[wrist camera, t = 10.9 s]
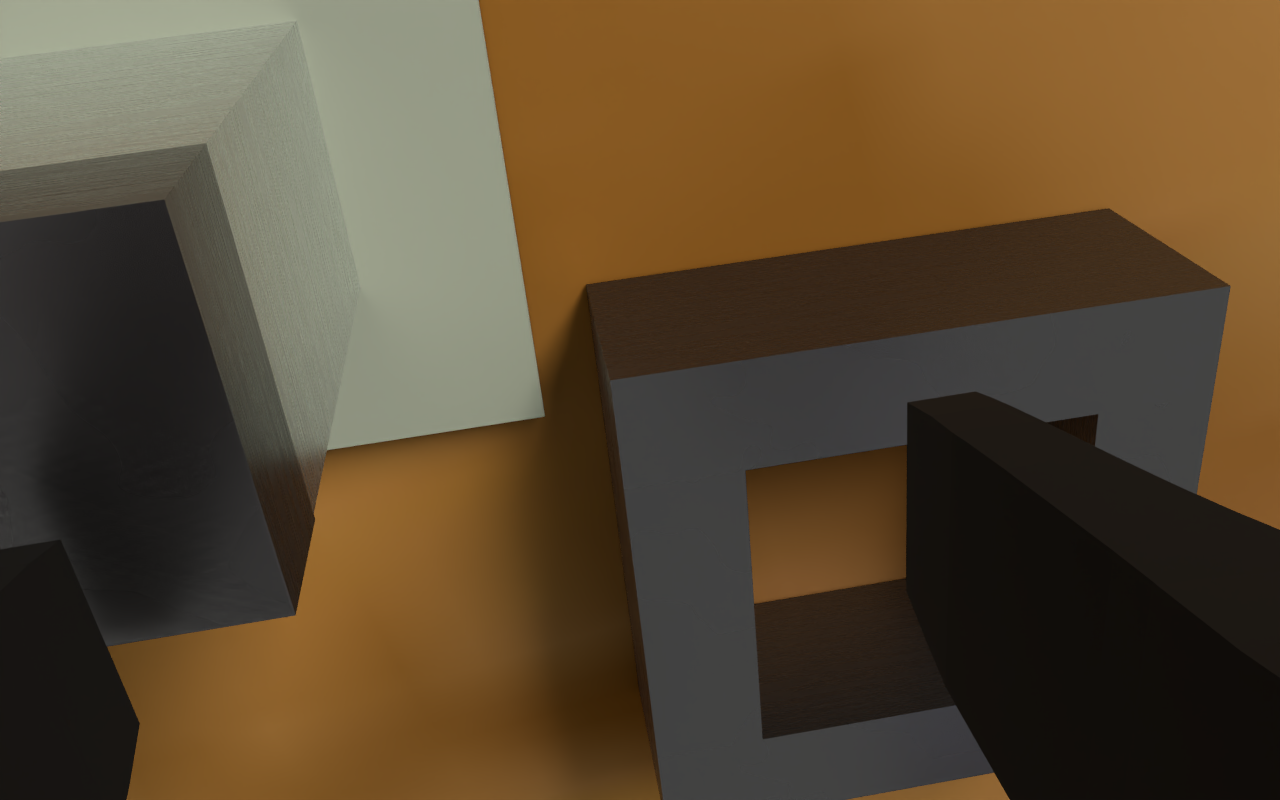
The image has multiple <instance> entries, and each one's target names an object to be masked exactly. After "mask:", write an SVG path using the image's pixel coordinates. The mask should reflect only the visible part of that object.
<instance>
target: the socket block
mask: <svg viewBox="0 0 1280 800" xmlns="http://www.w3.org/2000/svg"><path fill="white" fill-rule="evenodd" d="M586 289H587V297H588V304H589V312H590V319H591V327H592V334H593V342H594V350H595V357H596V365H597V372H598V380H599V388H600V395H601V403H602V410H603V418H604V426H605V433H606V441H607V448H608V456H609V463H610V471H611V479H612V486H613V494H614V501H615V509H616V517H617V524H618V532H619V539H620V547H621V555H622V562H623V570H624V577H625V585H626V592H627V600H628V608H629V615H630V623H631V630H632V638H633V646H634V653H635V661H636V668H637V676H638V683H639V691H640V697H641V702H642V707H643V712H644V717H645V723H646V728H647V733H648V738H649V743H650V748H651V753H652V758H653V763H654V768H655V773H656V778H657V783H658V788H659V794H660V799H661V800H846V799H852V798H857V797H863V796H868V795H874V794H879V793H885V792H890V791H896V790H901V789H906V788H912V787H917V786H923V785H928V784H934V783H939V782H945V781H950V780H956V779H961V778H967V777H972V776H978V775H983V774H989V773H994V771H993V770H992V768H991V766H990V764H989V763H988V761H987V759H986V757H985V756H984V754H983V752H982V750H981V749H980V747H979V745H978V743H977V742H976V740H975V738H974V736H973V735H972V733H971V731H970V729H969V728H968V726H967V724H966V722H965V721H964V719H963V717H962V715H961V714H960V712H959V710H958V708H957V707H956V705H955V703H954V701H953V699H952V698H951V696H950V694H949V692H948V690H947V689H946V687H945V684H944V682H943V680H942V677H941V675H940V673H939V670H938V668H937V666H936V663H935V661H934V659H933V656H932V654H931V652H930V649H929V647H928V645H927V642H926V640H925V637H924V634H923V632H922V629H921V627H920V624H919V622H918V619H917V617H916V614H915V612H914V609H913V607H912V604H911V602H910V599H909V597H908V594H907V591H906V579H901V580H895V581H889V582H883V583H877V584H872V585H866V586H860V587H854V588H848V589H842V590H836V591H830V592H824V593H818V594H812V595H806V596H800V597H794V598H788V599H782V600H776V601H771V602H765V603H759V604H754V598H753V582H752V566H751V551H750V535H749V520H748V504H747V489H746V473H745V470H751V469H757V468H763V467H769V466H776V465H782V464H788V463H795V462H801V461H807V460H813V459H820V458H826V457H832V456H838V455H845V454H851V453H857V452H863V451H870V450H876V449H882V448H889V447H895V446H901V445H907V402H913V401H919V400H925V399H931V398H937V397H944V396H950V395H956V394H962V393H968V392H974V391H976V392H979V393H981V394H984V395H986V396H989V397H992V398H994V399H996V400H999V401H1001V402H1003V403H1006V404H1008V405H1010V406H1012V407H1015V408H1017V409H1019V410H1021V411H1023V412H1025V413H1027V414H1029V415H1032V416H1034V417H1036V418H1038V419H1040V420H1042V421H1044V422H1046V423H1048V424H1050V425H1052V426H1054V427H1056V428H1058V429H1060V430H1063V431H1065V432H1067V433H1069V434H1071V435H1073V436H1075V437H1077V438H1079V439H1081V440H1083V441H1085V442H1087V443H1089V444H1091V445H1093V446H1095V447H1097V448H1099V449H1101V450H1103V451H1105V452H1107V453H1110V454H1112V455H1114V456H1116V457H1118V458H1120V459H1122V460H1124V461H1126V462H1128V463H1130V464H1132V465H1134V466H1137V467H1139V468H1141V469H1143V470H1145V471H1147V472H1149V473H1151V474H1153V475H1156V476H1158V477H1160V478H1162V479H1164V480H1166V481H1168V482H1171V483H1173V484H1175V485H1177V486H1179V487H1181V488H1184V489H1186V490H1188V491H1190V492H1192V493H1195V494H1197V488H1198V482H1199V476H1200V470H1201V463H1202V457H1203V451H1204V445H1205V439H1206V433H1207V427H1208V421H1209V415H1210V408H1211V402H1212V396H1213V390H1214V384H1215V378H1216V372H1217V366H1218V360H1219V353H1220V347H1221V341H1222V335H1223V329H1224V323H1225V317H1226V311H1227V305H1228V298H1229V292H1230V285H1228V284H1227V283H1225V282H1223V281H1222V280H1220V279H1219V278H1217V277H1216V276H1214V275H1212V274H1211V273H1209V272H1208V271H1206V270H1205V269H1203V268H1201V267H1200V266H1198V265H1197V264H1195V263H1194V262H1192V261H1191V260H1189V259H1187V258H1186V257H1184V256H1183V255H1181V254H1180V253H1178V252H1176V251H1175V250H1173V249H1172V248H1170V247H1169V246H1167V245H1165V244H1164V243H1162V242H1161V241H1159V240H1158V239H1156V238H1154V237H1153V236H1151V235H1150V234H1148V233H1147V232H1145V231H1144V230H1142V229H1140V228H1139V227H1137V226H1136V225H1134V224H1133V223H1131V222H1129V221H1128V220H1126V219H1125V218H1123V217H1122V216H1120V215H1118V214H1117V213H1115V212H1114V211H1112V210H1111V209H1102V210H1095V211H1088V212H1081V213H1074V214H1067V215H1061V216H1054V217H1047V218H1040V219H1033V220H1026V221H1019V222H1013V223H1006V224H999V225H992V226H985V227H978V228H971V229H964V230H958V231H951V232H944V233H937V234H930V235H923V236H916V237H910V238H903V239H896V240H889V241H882V242H875V243H868V244H862V245H855V246H848V247H841V248H834V249H827V250H820V251H813V252H807V253H800V254H793V255H786V256H779V257H772V258H765V259H759V260H752V261H745V262H738V263H731V264H724V265H717V266H711V267H704V268H697V269H690V270H683V271H676V272H669V273H663V274H656V275H649V276H642V277H635V278H628V279H621V280H614V281H608V282H601V283H594V284H587V285H586Z"/></svg>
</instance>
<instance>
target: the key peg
mask: <svg viewBox="0 0 1280 800" xmlns="http://www.w3.org/2000/svg"><path fill="white" fill-rule="evenodd" d="M360 288H361V287H360V283H359V279H358V275H357V270H356V266H355V262H354V258H353V254H352V249H351V245H350V241H349V237H348V233H347V228H346V224H345V220H344V216H343V212H342V207H341V203H340V199H339V195H338V191H337V186H336V182H335V178H334V174H333V170H332V165H331V161H330V157H329V153H328V149H327V144H326V140H325V136H324V132H323V128H322V123H321V119H320V115H319V111H318V107H317V102H316V98H315V94H314V90H313V86H312V81H311V77H310V73H309V69H308V65H307V60H306V56H305V52H304V48H303V44H302V39H301V35H300V31H299V27H298V23H297V20H296V21H288V22H281V23H273V24H265V25H257V26H250V27H242V28H234V29H226V30H218V31H211V32H203V33H195V34H187V35H180V36H172V37H164V38H156V39H148V40H141V41H133V42H125V43H117V44H110V45H102V46H94V47H86V48H79V49H71V50H63V51H55V52H47V53H40V54H32V55H24V56H16V57H9V58H1V59H0V549H5V548H11V547H17V546H24V545H30V544H36V543H42V542H48V541H54V540H61V541H62V544H63V546H64V548H65V551H66V553H67V555H68V558H69V560H70V562H71V565H72V567H73V569H74V572H75V574H76V576H77V579H78V581H79V583H80V586H81V588H82V590H83V593H84V595H85V597H86V600H87V602H88V604H89V607H90V609H91V611H92V614H93V616H94V618H95V621H96V623H97V625H98V628H99V630H100V632H101V635H102V637H103V639H104V642H105V644H106V646H113V645H119V644H125V643H131V642H137V641H143V640H149V639H155V638H161V637H167V636H173V635H179V634H186V633H192V632H198V631H204V630H210V629H216V628H222V627H228V626H234V625H240V624H246V623H252V622H258V621H264V620H270V619H276V618H282V617H288V616H294V615H296V610H297V605H298V600H299V595H300V591H301V586H302V581H303V576H304V571H305V566H306V561H307V556H308V551H309V547H310V542H311V537H312V532H313V527H314V522H315V517H314V509H315V505H316V500H317V495H318V490H319V485H320V481H321V476H322V471H323V466H324V461H325V456H326V452H327V447H328V442H329V437H330V432H331V428H332V423H333V418H334V413H335V408H336V404H337V399H338V394H339V389H340V384H341V380H342V375H343V370H344V365H345V360H346V356H347V351H348V346H349V341H350V336H351V331H352V327H353V322H354V317H355V312H356V307H357V303H358V298H359V293H360Z"/></svg>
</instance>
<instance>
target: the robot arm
mask: <svg viewBox="0 0 1280 800" xmlns="http://www.w3.org/2000/svg"><path fill="white" fill-rule="evenodd" d="M906 591H907V594H908V597H909V599H910V602H911V604H912V607H913V609H914V612H915V614H916V617H917V619H918V622H919V624H920V627H921V629H922V632H923V634H924V637H925V640H926V642H927V645H928V647H929V649H930V652H931V654H932V656H933V659H934V661H935V663H936V666H937V668H938V670H939V673H940V675H941V677H942V680H943V682H944V684H945V687H946V689H947V690H948V692H949V694H950V696H951V698H952V699H953V701H954V703H955V705H956V707H957V708H958V710H959V712H960V714H961V715H962V717H963V719H964V721H965V722H966V724H967V726H968V728H969V729H970V731H971V733H972V735H973V736H974V738H975V740H976V742H977V743H978V745H979V747H980V749H981V750H982V752H983V754H984V756H985V757H986V759H987V761H988V763H989V764H990V766H991V768H992V770H993V771H994V773H995V775H996V776H997V778H998V780H999V782H1000V783H1001V785H1002V787H1003V788H1004V790H1005V792H1006V794H1007V795H1008V797H1009V799H1010V800H1280V530H1279V529H1276V528H1274V527H1271V526H1269V525H1267V524H1264V523H1262V522H1259V521H1257V520H1255V519H1252V518H1250V517H1247V516H1245V515H1242V514H1240V513H1238V512H1235V511H1233V510H1231V509H1228V508H1226V507H1224V506H1222V505H1219V504H1217V503H1215V502H1213V501H1210V500H1208V499H1206V498H1204V497H1201V496H1199V495H1197V494H1195V493H1192V492H1190V491H1188V490H1186V489H1184V488H1181V487H1179V486H1177V485H1175V484H1173V483H1171V482H1168V481H1166V480H1164V479H1162V478H1160V477H1158V476H1156V475H1153V474H1151V473H1149V472H1147V471H1145V470H1143V469H1141V468H1139V467H1137V466H1134V465H1132V464H1130V463H1128V462H1126V461H1124V460H1122V459H1120V458H1118V457H1116V456H1114V455H1112V454H1110V453H1107V452H1105V451H1103V450H1101V449H1099V448H1097V447H1095V446H1093V445H1091V444H1089V443H1087V442H1085V441H1083V440H1081V439H1079V438H1077V437H1075V436H1073V435H1071V434H1069V433H1067V432H1065V431H1063V430H1060V429H1058V428H1056V427H1054V426H1052V425H1050V424H1048V423H1046V422H1044V421H1042V420H1040V419H1038V418H1036V417H1034V416H1032V415H1029V414H1027V413H1025V412H1023V411H1021V410H1019V409H1017V408H1015V407H1012V406H1010V405H1008V404H1006V403H1003V402H1001V401H999V400H996V399H994V398H992V397H989V396H986V395H984V394H981V393H979V392H976V391H974V392H968V393H962V394H956V395H950V396H944V397H937V398H931V399H925V400H919V401H913V402H907V535H906ZM139 725H140V723H139V721H138V718H137V716H136V714H135V711H134V709H133V707H132V704H131V702H130V700H129V697H128V695H127V693H126V690H125V688H124V686H123V683H122V681H121V679H120V676H119V674H118V672H117V670H116V667H115V665H114V663H113V660H112V658H111V656H110V653H109V651H108V649H107V646H106V644H105V642H104V639H103V637H102V635H101V632H100V630H99V628H98V625H97V623H96V621H95V618H94V616H93V614H92V611H91V609H90V607H89V604H88V602H87V600H86V597H85V595H84V593H83V590H82V588H81V586H80V583H79V581H78V579H77V576H76V574H75V572H74V569H73V567H72V565H71V562H70V560H69V558H68V555H67V553H66V551H65V548H64V546H63V544H62V541H61V540H54V541H48V542H42V543H36V544H30V545H24V546H17V547H11V548H5V549H0V800H126V799H127V794H128V789H129V784H130V778H131V772H132V766H133V760H134V754H135V748H136V742H137V736H138V730H139Z"/></svg>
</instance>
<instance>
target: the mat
mask: <svg viewBox="0 0 1280 800" xmlns="http://www.w3.org/2000/svg"><path fill="white" fill-rule="evenodd" d="M296 20H297V23H298V27H299V31H300V35H301V39H302V44H303V48H304V52H305V56H306V60H307V65H308V69H309V73H310V77H311V81H312V86H313V90H314V94H315V98H316V102H317V107H318V111H319V115H320V119H321V123H322V128H323V132H324V136H325V140H326V144H327V149H328V153H329V157H330V161H331V165H332V170H333V174H334V178H335V182H336V186H337V191H338V195H339V199H340V203H341V207H342V212H343V216H344V220H345V224H346V228H347V233H348V237H349V241H350V245H351V249H352V254H353V258H354V262H355V266H356V270H357V275H358V279H359V283H360V287H361V288H360V293H359V298H358V303H357V307H356V312H355V317H354V322H353V327H352V331H351V336H350V341H349V346H348V351H347V356H346V360H345V365H344V370H343V375H342V380H341V384H340V389H339V394H338V399H337V404H336V408H335V413H334V418H333V423H332V428H331V432H330V437H329V442H328V447H327V450H331V449H338V448H344V447H351V446H357V445H364V444H370V443H377V442H383V441H390V440H396V439H403V438H409V437H416V436H422V435H429V434H435V433H442V432H448V431H455V430H461V429H468V428H474V427H481V426H487V425H494V424H500V423H507V422H513V421H520V420H526V419H533V418H539V417H545V414H544V407H543V399H542V393H541V387H540V381H539V374H538V368H537V362H536V356H535V349H534V343H533V337H532V331H531V324H530V318H529V312H528V306H527V300H526V293H525V287H524V281H523V275H522V268H521V262H520V256H519V250H518V243H517V237H516V231H515V225H514V218H513V212H512V206H511V200H510V193H509V187H508V181H507V175H506V168H505V162H504V156H503V150H502V143H501V137H500V131H499V125H498V118H497V112H496V106H495V100H494V93H493V87H492V81H491V75H490V68H489V62H488V56H487V50H486V43H485V37H484V31H483V25H482V18H481V12H480V6H479V0H0V59H1V58H9V57H16V56H24V55H32V54H40V53H47V52H55V51H63V50H71V49H79V48H86V47H94V46H102V45H110V44H117V43H125V42H133V41H141V40H148V39H156V38H164V37H172V36H180V35H187V34H195V33H203V32H211V31H218V30H226V29H234V28H242V27H250V26H257V25H265V24H273V23H281V22H288V21H296Z"/></svg>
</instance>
